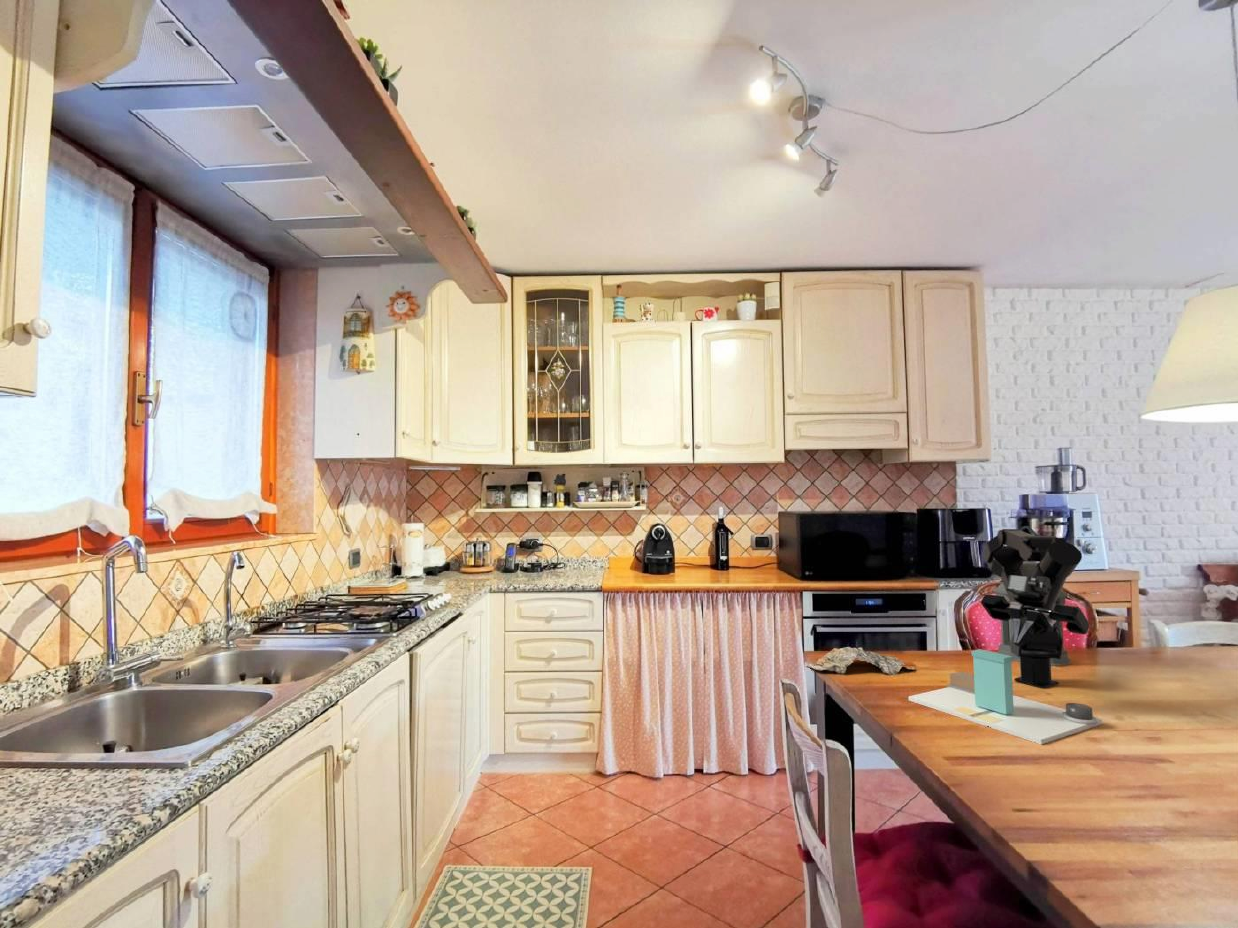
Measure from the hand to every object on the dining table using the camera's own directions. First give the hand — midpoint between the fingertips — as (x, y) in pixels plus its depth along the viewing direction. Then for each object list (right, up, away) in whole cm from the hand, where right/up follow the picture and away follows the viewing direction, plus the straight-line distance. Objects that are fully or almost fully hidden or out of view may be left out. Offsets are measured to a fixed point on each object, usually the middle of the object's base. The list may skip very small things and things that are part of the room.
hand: (1017, 644), depth 122 cm
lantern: (+29, -15, +36) cm, 49 cm away
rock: (-20, -15, +29) cm, 39 cm away
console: (-5, -12, -3) cm, 14 cm away
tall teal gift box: (-7, -11, -4) cm, 14 cm away
